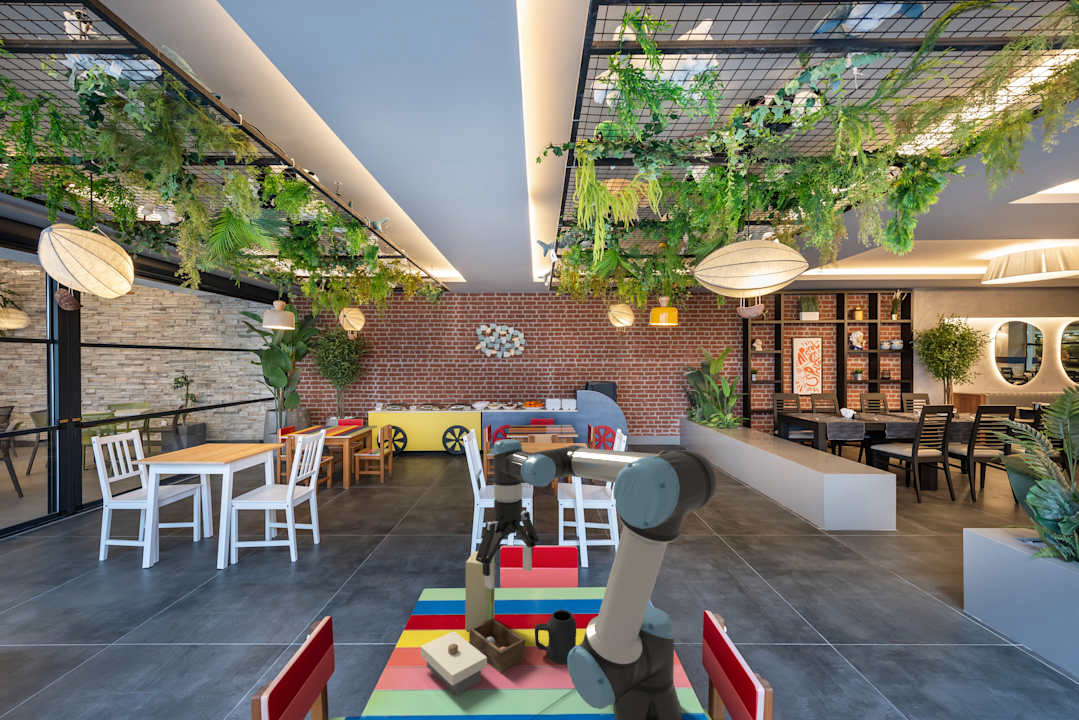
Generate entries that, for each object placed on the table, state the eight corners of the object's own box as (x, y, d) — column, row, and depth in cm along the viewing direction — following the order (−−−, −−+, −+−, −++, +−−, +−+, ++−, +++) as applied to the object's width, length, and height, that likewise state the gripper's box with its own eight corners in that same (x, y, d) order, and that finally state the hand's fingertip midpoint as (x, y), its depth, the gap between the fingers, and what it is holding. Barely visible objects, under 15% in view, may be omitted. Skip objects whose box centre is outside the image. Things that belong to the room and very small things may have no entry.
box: (524, 662, 125) (524, 639, 125) (500, 676, 120) (500, 652, 120) (492, 638, 136) (492, 618, 135) (469, 650, 130) (469, 628, 130)
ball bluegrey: (497, 648, 130) (497, 637, 130) (488, 653, 128) (488, 642, 128) (490, 643, 132) (490, 632, 132) (482, 648, 130) (482, 637, 130)
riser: (480, 684, 117) (480, 668, 117) (456, 698, 112) (456, 681, 112) (450, 657, 127) (450, 642, 127) (426, 669, 122) (426, 653, 122)
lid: (486, 666, 117) (486, 652, 117) (452, 685, 111) (452, 670, 111) (453, 639, 129) (453, 626, 128) (420, 655, 122) (420, 641, 122)
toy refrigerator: (488, 636, 137) (489, 564, 136) (464, 633, 138) (464, 561, 138) (496, 621, 145) (497, 552, 144) (473, 618, 146) (474, 550, 146)
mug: (576, 645, 133) (577, 605, 132) (581, 667, 124) (581, 624, 123) (534, 646, 132) (534, 606, 132) (535, 668, 123) (535, 625, 123)
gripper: (531, 486, 138) (532, 559, 138) (461, 506, 120) (462, 589, 120) (550, 491, 133) (551, 567, 133) (480, 512, 115) (480, 600, 115)
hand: (508, 578), depth 126 cm, fingers open, 13 cm apart
